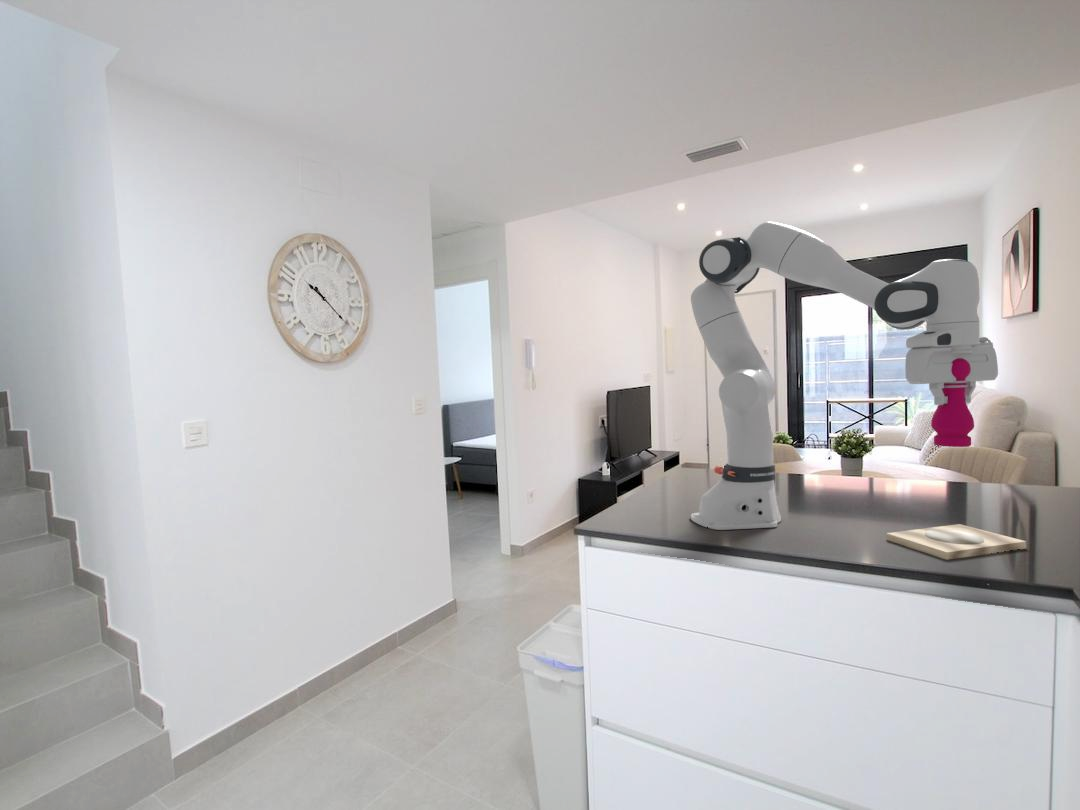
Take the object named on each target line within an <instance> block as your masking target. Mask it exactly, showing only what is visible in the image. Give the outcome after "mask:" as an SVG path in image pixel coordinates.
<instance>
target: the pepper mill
mask: <svg viewBox="0 0 1080 810" xmlns="http://www.w3.org/2000/svg"><path fill="white" fill-rule="evenodd" d="M952 363H953V364H952V369H951V371H952V374H953V376H954V377H955V378H956V381H953V382H950V383H944V388H942V391H943V394H944V396H948V400H947V401H948V404H947V405H937V407H936V409H935V411H934V413H933V414H932V418H931V424H930V426H931V428H932V430H933V431H934V432H935V433H936V435H934V436H933V444H934V445H935V446H940V447H952V448H953V447H954V448H956V447H958V448H962V447H971V446H972V437H971V436H970V435H969V433H971V432H972V431H973V430H974V428H975V421H974V417H973V415H972V413H971V411H970V409H969V408H968V405H967V404H966V401H965V387H967V386H968V385H967V382H968V381H967V380H966V381H965V379H966V377H967V376H968V375H969V374H970V372H971V367H970V364H969V362H968V361H967V360H965V359H962V358H957V359H955V360H953V361H952Z"/></svg>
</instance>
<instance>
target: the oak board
mask: <svg viewBox="0 0 1080 810" xmlns="http://www.w3.org/2000/svg"><path fill="white" fill-rule="evenodd" d="M886 540H887V541H888V542H892V543H894V544H898V545H901V546H904V547H907V548H910V549H913V550H916V551H919V552H922V553H925V554H928V555H931V556H934V557H937V558H940V559H943V560H946V561H948V560H955V559H963V558H969V557H971V558H972V557H976V556H983V555H991V553H992V554H997V552H999V553H1004V551H1006V552H1011V551H1010V550H1013V551H1018V550H1017V549H1020V550H1026V549H1027V541H1026V540H1024V539H1023V540H1022V539H1019V538H1014V537H1012V536H1007V535H1003V534H999V533H995V532H992V531H987V530H984V529H980V528H976V527H973V526H968V525H964V524H962V523H961V524H960V523H957V524H950V525H949V524H948V525H940V526H933V527H926V528H917V529H909V530H900V531H893V532H886Z"/></svg>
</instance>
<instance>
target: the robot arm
mask: <svg viewBox="0 0 1080 810" xmlns="http://www.w3.org/2000/svg"><path fill="white" fill-rule="evenodd" d="M698 260H699V261H698V266H699V269H700V272H701V273H702V275H703V276H704V278H706V279H705V281H704V282H702V283H700V284H698V286H696V287H695V288H694V289H693V290H692V293H691V295H690V302H691V303H690V304H691V308H692V312H693V316H694V320H695V323H696V325H697V328H698V330H699V333H700V335H701V338H702V340H703V342H704V345H705V347H706V350H707V353H708V355H709V357H710V358H711V359H712V361H713V362H714V364H715V365H716V367H717V368H718V370H719V371H720V374H721V375H722V377H723V379H722V381H721V382H720V385H719V386H718V387H719V388H718V396H719V399H720V401H721V409H722V416H723V420H724V425H725V431H726V446H727V447H726V450H727V452H726V453H727V464H725V467H723V466H720V465H716V466H714V467H713V473H715V474H718V475H721V479H720V480H718V481H717V483H715V484H714V485H713V486H712V487H710V489H709V490H707V491H706V492H705V493H703V495H702V496H701V498H700V502H699V512H693V513H691V514H690V520H691V521H692V522H693V523H695V524H698V525H700V526H702V527H705V528H707V527H708V528H707V529H710V530H717V531H726V530H727V531H728V530H748V529H763V528H764V529H766V528H767V529H768V528H777V527H778V523H780V522H781V521H782V516H781V513H780V511H779V506H778V503H777V501H778V500H777V496H776V495H777V494H776V488H775V483H776V479H777V478H776V465H775V464H774V445H773V444H774V443H773V442H774V440H773V439H774V437H773V436H774V435H773V432H772V426H771V420H770V419H771V418H770V414H769V413H770V412H769V405H770V403H771V402H772V401H773V399H775V395H776V392H777V391H776V389H777V386H776V382H775V380H774V378H773V376H772V374H771V371H770V370H769V369H768V365H767V364H766V363H765V360H764V359H763V357H762V355H761V352H759V350H758V348H757V346H756V344H755V343H754V341H753V339H752V337H751V335H750V331H749V330H748V327H747V325H746V322H745V321H744V318H743V315H742V314H741V311H740V309H739V307H738V306H739V305H737V301H736V298H735V294H738V293H740V292H741V291H742V290H743V289H744V288H745V287H746V286H747V285H749V284H750V283H751V282H752V281H754V280H755V278H757V275H758V274H759V271H760V269H766V270H769V271H771V272H773V273H775V274H777V275H779V276H781V277H782V278H785V279H788V280H790V281H793V282H797V283H800V284H803V285H808V286H811V287H817V288H823V289H826V290H827V289H828V290H831V291H834V292H837V293H841V294H842V295H845V296H846V297H849V298H851V299H853V300H855V301H857V302H860V303H862V304H864V305H865V306H867V307H869V308H871V309H872V310H874V311H875V313H876V315H877V316H878V317H879V318H880V319H881V320H882V321H884V322H885V323H886V324H887V325H888V326H889V327H892V328H893V329H896V330H905V331H907V330H912V329H916V328H918V327H920V326H921V325H923V324H924V323H926V326H925V327H926V330H923V331H921V332H920V333H918V334H916V335H913V336H910V337H908V338H906V340H905V346H906V348H907V349H909V350H907V353H906V356H905V367H904V368H905V379H906V381H907V382H908V383H909V384H910V385H926V384H927V385H928V389H929V391H930V392H931V394H932V396H933V399H934V400H933V403H934V405H935V406H938V405H947V404H948V401H947V400H948V396H944V394H943V391H942V388H944V383H950V382H953V381H956V378H955V377H954V376H953V374H952V371H951V369H952V364H953V363H952V361H953V360H955V359H957V358H962V359H965V360H967V361H968V362H969V364H970V367H971V372H970V374H969V375H968V376H967V377H966V379H965V381H966V380H967V381H968V382H967V385H968V386H967V387H965V401H966V405H967V404H971V402H972V397H971V396H972V394H973V393H974V391H975V389H976V387H977V384H976V383H977V382H984V381H986V382H987V381H995V380H996V379H997V377H998V375H999V367H998V365H999V364H998V357H997V352H996V349H995V347H994V344H993V342H992V341H991V340H990V339H989V338H988V337H986V336H980V317H979V315H978V305H979V303H980V297H981V295H980V280H979V273H978V269H977V268H976V265H974V264H973V263H972V262H970V261H969V260H965V259H958V258H957V259H956V258H955V259H954V258H945V259H936V260H934V261H932V262H930V263H929V264H928V265H927V266H925V267H924V268H922V269H920V270H919V271H917V272H914V273H913V274H911V275H908V276H907V277H904V278H901V279H898V280H896V281H893V282H890V283H889V282H886V281H885V280H881V279H880V278H877V277H875V276H873V275H871V274H869V273H866V272H865V271H863V270H860V269H858V268H857V267H855V266H853V265H852V264H851V263H849V262H847V260H845V259H844V258H843V257H842V256H841V255H840V253H839V252H838V251H836V250H835V249H834V248H833V246H831V245H829V244H828V243H827V242H825V241H824V240H822V239H821V238H819V237H817V236H816V235H814V234H811V233H810V232H807V231H805V230H803V229H800V228H798V227H795V226H792V225H788V224H783V223H780V222H776V221H765V222H763V223H760V224H759V225H758V226H757V227H756V228H754V229H753V230H752V232H751V234H750V235H749V237H748V238H746V239H745V238H744V237H742V236H736V237H729V238H728V237H727V238H722V239H716V240H714V241H711V242H709V243H708V244H707V245H706V246H705V247H704V248H703V250H702V251H701V253H700V255H699V259H698Z"/></svg>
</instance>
